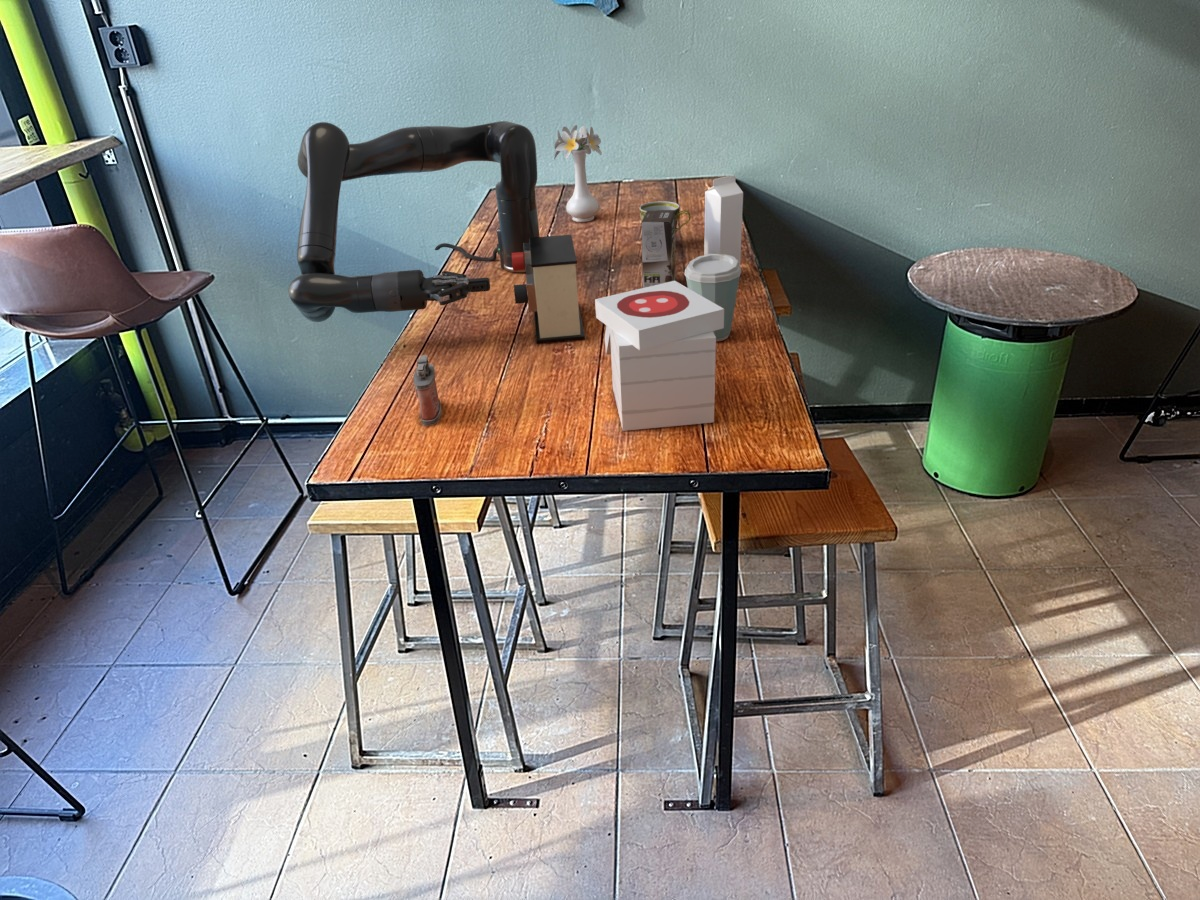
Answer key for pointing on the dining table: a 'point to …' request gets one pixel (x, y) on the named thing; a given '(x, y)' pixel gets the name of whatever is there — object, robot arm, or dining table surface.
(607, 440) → the dining table surface
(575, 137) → the flower vase
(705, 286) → the disposable coffee cup
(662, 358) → the pizza boxes
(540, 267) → the control box
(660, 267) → the coffee box
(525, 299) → the black button
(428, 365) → the lighter
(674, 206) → the ceramic cup
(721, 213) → the milk
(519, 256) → the red button
